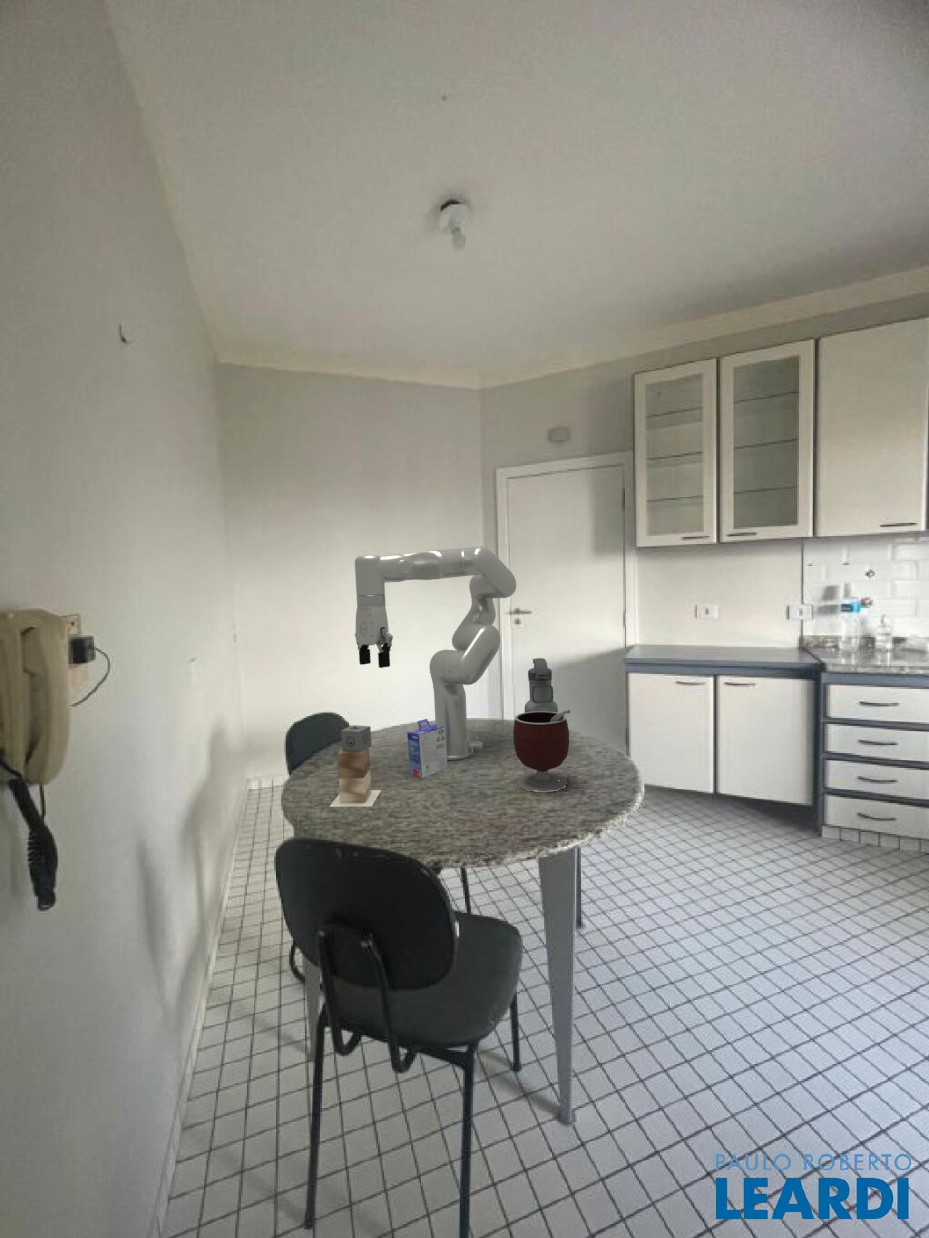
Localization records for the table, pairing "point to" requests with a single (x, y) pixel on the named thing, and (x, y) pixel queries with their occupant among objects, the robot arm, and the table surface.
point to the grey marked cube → (356, 738)
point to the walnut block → (353, 764)
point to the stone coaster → (368, 803)
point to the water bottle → (540, 688)
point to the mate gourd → (541, 747)
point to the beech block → (355, 789)
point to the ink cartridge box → (427, 749)
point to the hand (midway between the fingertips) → (374, 665)
